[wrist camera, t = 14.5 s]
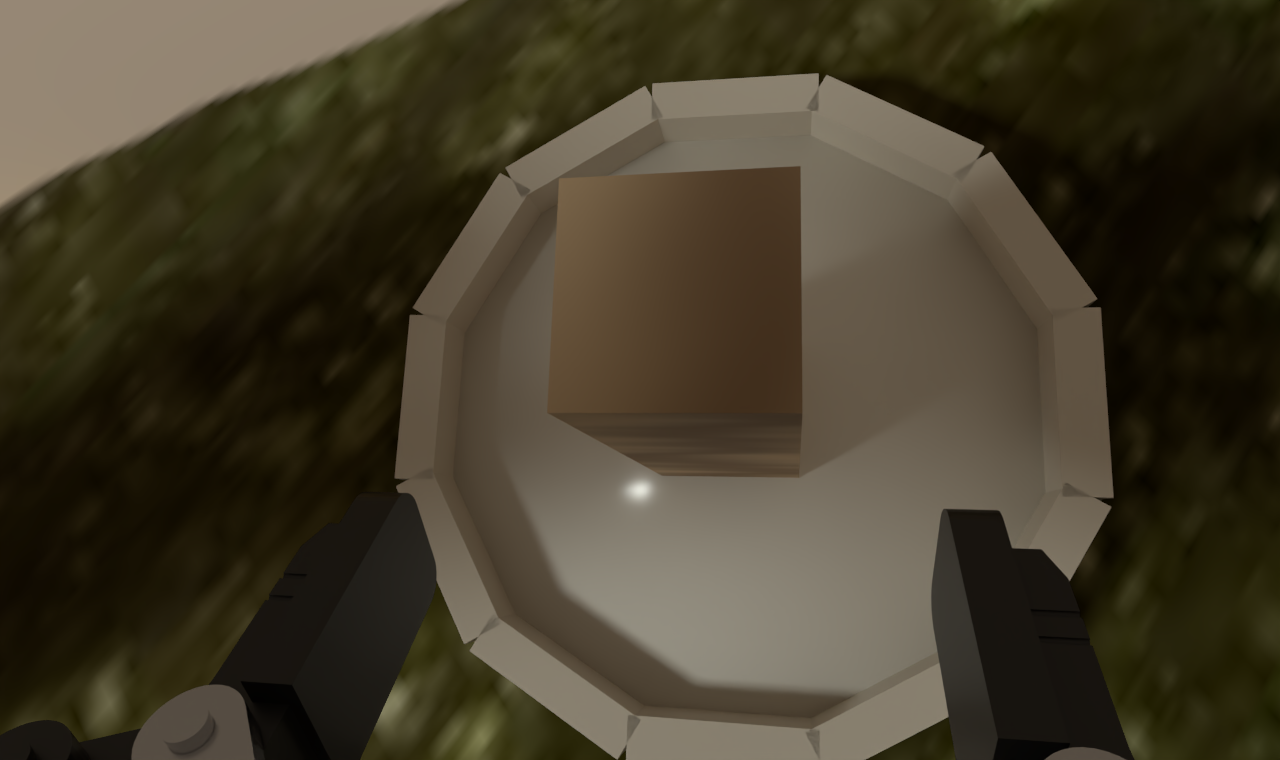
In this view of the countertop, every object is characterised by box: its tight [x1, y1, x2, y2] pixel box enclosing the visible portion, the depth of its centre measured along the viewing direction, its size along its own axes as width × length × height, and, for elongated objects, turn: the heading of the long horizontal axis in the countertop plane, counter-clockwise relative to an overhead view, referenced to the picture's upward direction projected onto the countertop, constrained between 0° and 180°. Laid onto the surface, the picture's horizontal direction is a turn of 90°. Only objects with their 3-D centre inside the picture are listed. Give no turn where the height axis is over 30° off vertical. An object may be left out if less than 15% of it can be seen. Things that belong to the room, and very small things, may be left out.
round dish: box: [395, 73, 1114, 760], centre depth 25 cm, size 20×20×2 cm
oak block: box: [547, 166, 803, 478], centre depth 19 cm, size 4×4×12 cm
